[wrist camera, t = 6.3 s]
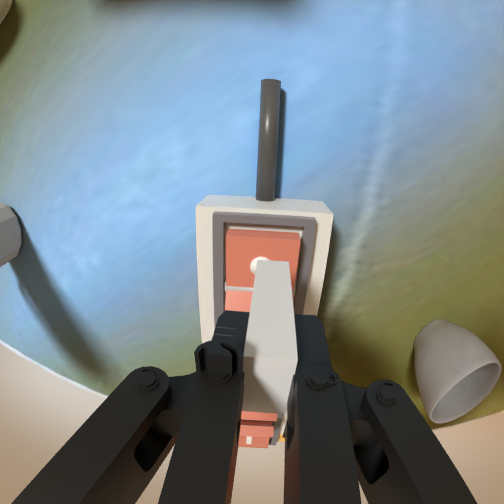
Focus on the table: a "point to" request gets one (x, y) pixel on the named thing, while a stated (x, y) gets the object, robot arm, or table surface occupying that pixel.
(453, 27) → the table surface
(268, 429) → the rocker
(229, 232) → the rocker
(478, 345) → the mug
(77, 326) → the table surface
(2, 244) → the water bottle
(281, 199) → the power strip
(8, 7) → the mug
